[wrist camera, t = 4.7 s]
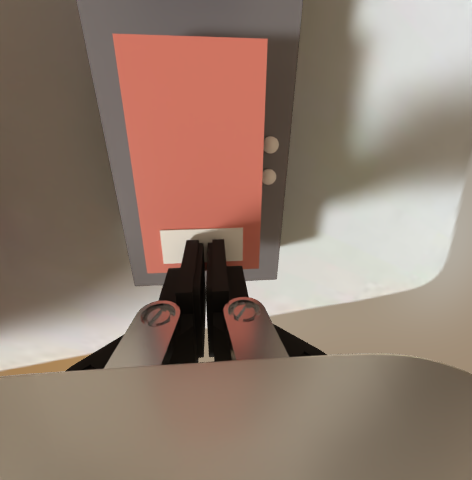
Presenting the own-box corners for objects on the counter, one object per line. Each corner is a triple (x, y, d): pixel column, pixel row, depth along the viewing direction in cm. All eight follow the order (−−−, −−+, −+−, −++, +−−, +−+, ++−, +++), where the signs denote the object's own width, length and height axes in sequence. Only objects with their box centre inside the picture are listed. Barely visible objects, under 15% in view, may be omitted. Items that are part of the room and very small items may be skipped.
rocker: (126, 48, 10) (111, 32, 8) (259, 52, 10) (268, 37, 9) (154, 258, 13) (147, 274, 12) (253, 254, 14) (259, 269, 12)
